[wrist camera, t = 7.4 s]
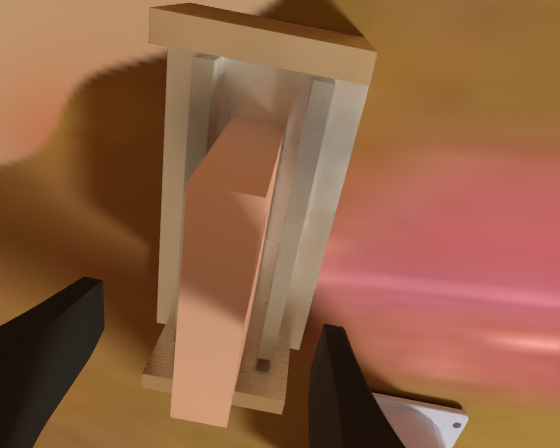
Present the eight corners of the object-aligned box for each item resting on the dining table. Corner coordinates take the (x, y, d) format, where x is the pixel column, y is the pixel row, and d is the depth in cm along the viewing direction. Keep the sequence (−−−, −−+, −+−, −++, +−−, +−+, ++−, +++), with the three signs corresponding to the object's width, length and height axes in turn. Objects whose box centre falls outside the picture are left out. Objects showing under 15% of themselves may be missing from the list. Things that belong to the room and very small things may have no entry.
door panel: (252, 309, 23) (226, 427, 17) (211, 301, 23) (170, 416, 17) (285, 126, 18) (265, 197, 12) (233, 116, 18) (187, 182, 12)
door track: (296, 349, 25) (291, 416, 21) (161, 323, 25) (132, 385, 21) (377, 39, 17) (393, 55, 13) (177, 0, 17) (133, 4, 13)
